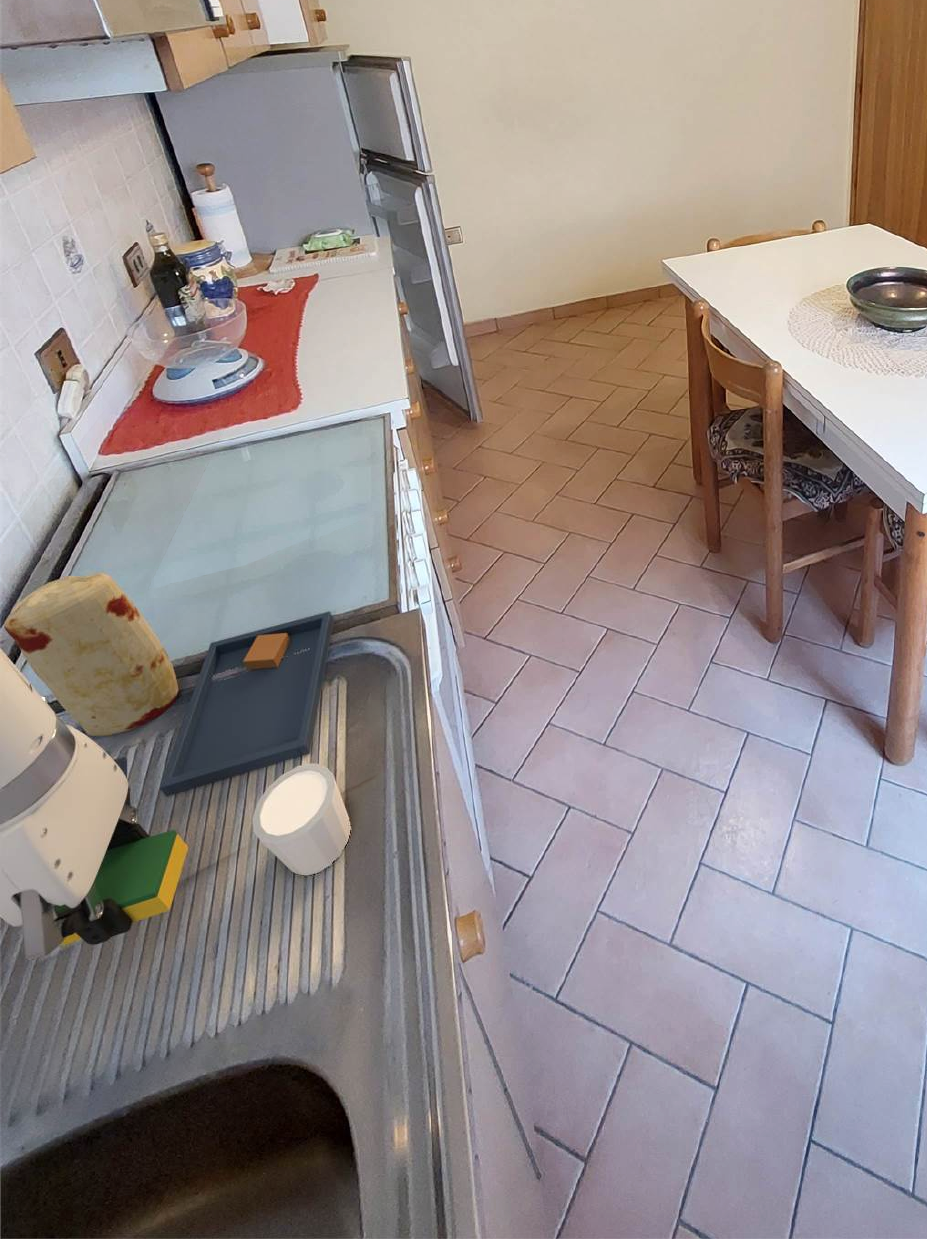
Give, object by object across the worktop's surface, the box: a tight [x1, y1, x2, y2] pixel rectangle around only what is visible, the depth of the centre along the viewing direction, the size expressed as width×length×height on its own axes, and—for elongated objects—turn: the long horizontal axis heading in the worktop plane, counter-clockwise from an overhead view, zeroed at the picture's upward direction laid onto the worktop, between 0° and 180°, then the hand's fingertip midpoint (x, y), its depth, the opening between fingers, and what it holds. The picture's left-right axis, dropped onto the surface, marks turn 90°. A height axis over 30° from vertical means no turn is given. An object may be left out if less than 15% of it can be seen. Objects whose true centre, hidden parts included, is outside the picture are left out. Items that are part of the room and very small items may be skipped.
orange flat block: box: [243, 633, 291, 669], centre depth 86 cm, size 4×4×2 cm
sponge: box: [59, 829, 189, 947], centre depth 61 cm, size 8×5×3 cm, turn 105°
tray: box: [159, 611, 335, 797], centre depth 81 cm, size 14×18×2 cm
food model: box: [3, 572, 179, 737], centre depth 77 cm, size 10×7×20 cm
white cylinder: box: [251, 762, 352, 875], centre depth 66 cm, size 7×7×7 cm
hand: (124, 892), depth 61 cm, fingers closed on sponge, 5 cm apart
